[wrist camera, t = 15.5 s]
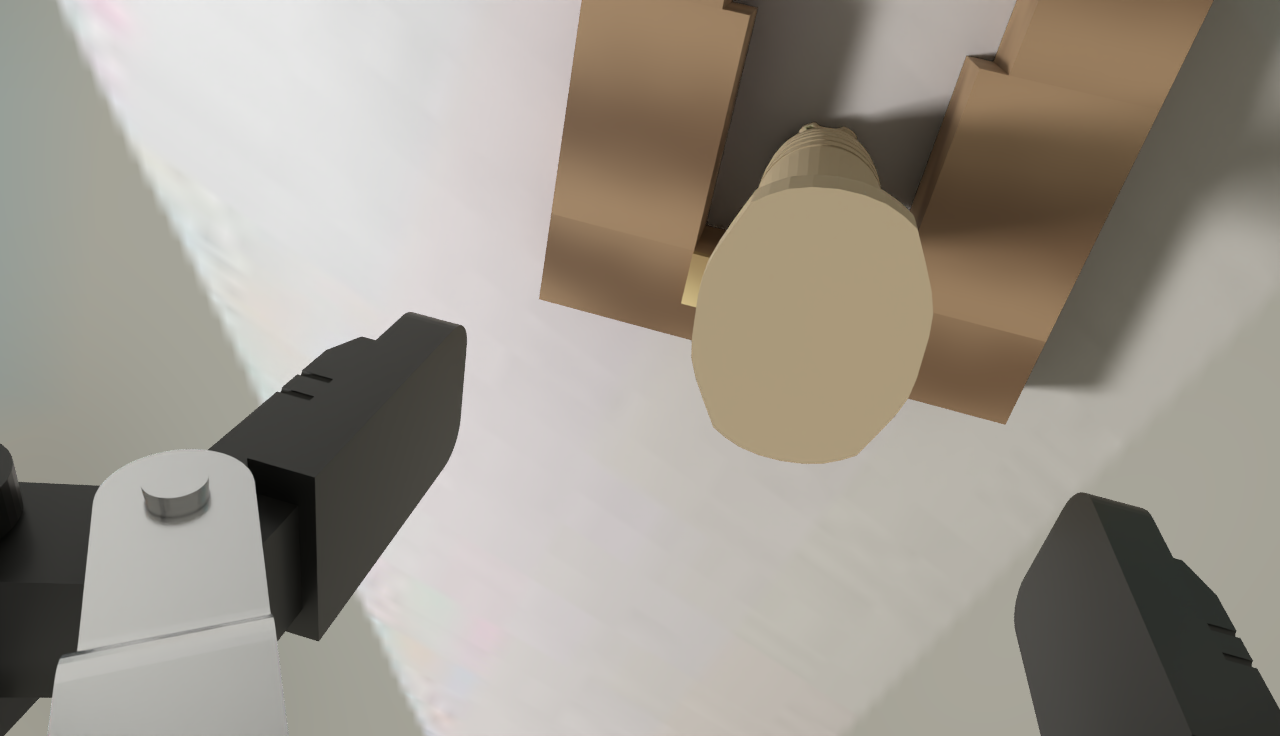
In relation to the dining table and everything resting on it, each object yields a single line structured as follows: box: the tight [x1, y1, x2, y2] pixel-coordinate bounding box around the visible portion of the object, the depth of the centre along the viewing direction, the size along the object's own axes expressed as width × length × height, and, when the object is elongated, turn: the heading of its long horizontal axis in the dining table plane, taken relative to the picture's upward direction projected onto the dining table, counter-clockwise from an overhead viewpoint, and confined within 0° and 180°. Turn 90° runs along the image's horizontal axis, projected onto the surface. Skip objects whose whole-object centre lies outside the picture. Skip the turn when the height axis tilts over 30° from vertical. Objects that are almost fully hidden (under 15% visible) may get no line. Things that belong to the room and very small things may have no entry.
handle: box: [691, 122, 933, 464], centre depth 24 cm, size 5×6×15 cm
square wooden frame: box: [539, 0, 1214, 424], centre depth 27 cm, size 22×18×3 cm
